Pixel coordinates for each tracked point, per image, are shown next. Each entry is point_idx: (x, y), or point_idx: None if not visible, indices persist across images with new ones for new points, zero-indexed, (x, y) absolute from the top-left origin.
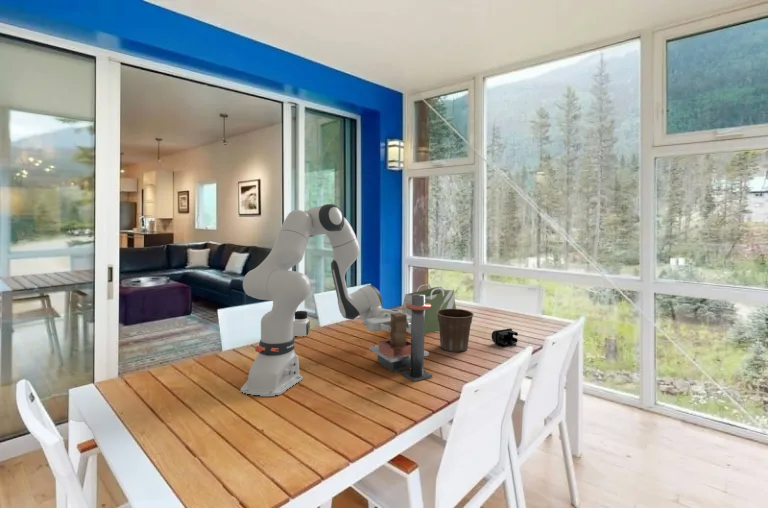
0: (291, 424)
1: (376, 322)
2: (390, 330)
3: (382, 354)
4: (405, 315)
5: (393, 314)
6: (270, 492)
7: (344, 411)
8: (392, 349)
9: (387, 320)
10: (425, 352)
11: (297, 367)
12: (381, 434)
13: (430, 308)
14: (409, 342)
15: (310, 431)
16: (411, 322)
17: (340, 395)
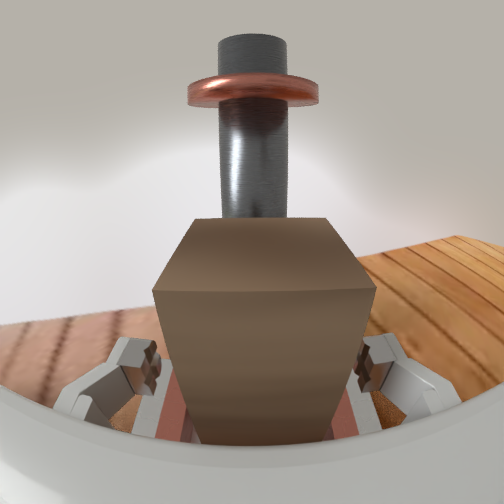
0: (495, 284)
1: (499, 388)
2: (356, 362)
3: (376, 414)
4: (210, 223)
5: (342, 253)
6: (465, 239)
7: (447, 291)
8: None
9: (372, 449)
10: (170, 361)
11: None
12: (396, 252)
13: (215, 107)
14: (184, 418)
15: (471, 272)
16: (286, 177)
17: (466, 330)
